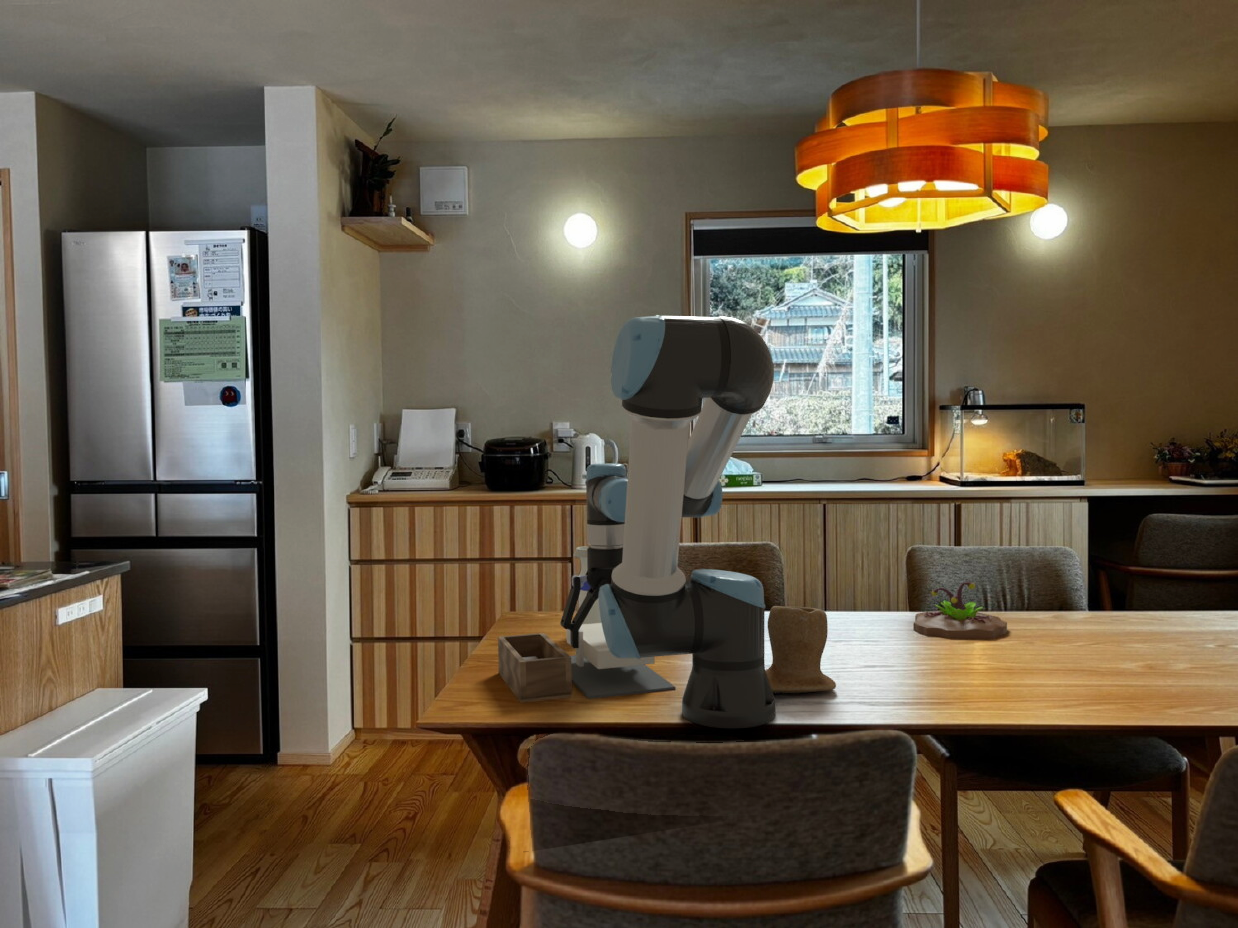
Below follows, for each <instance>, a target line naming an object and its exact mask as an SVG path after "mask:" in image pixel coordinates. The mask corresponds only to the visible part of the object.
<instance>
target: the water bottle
mask: <svg viewBox="0 0 1238 928" xmlns="http://www.w3.org/2000/svg"><path fill="white" fill-rule="evenodd" d="M588 547H589V546H584V545H583V546H578V547H576V548H575V551H574V554H573V556H572V557H574V558H577V559H579V561H580V570H579V573H578V574H577V576H583V575H586V573H587V569H588V568H587V549H588ZM589 589H590V585H589V584H588V583H587V581H586V582H584V585H583V587H581V590H580V594H579V598H578V601H577V604H578V606H577V611H578V610H579V608H580V606H581V604H582V603H583V601H584V599H585V597H586V595H587V592H588V590H589ZM594 623H601V617H600V610H599V597H598V599H597V600H596V601H595V602H594V604H593V606H592V608H591V609H590V611H589V613H588V615H587V617H586V618H585V620H584V622H583V624H594Z"/></svg>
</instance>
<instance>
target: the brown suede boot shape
mask: <svg viewBox="0 0 1238 928" xmlns="http://www.w3.org/2000/svg"><path fill="white" fill-rule="evenodd" d="M767 619H768V620H767V630H768V631H767V632H768V638H769V644H770V649H771V656H772V662H771V665H770V666H769V667H768V668H766V669H765V671H766V674H767V677H768V680H769V683H770V686H771V689H772V692H773V694H799V693H802V694H803V693H815V692H828V691H834V690H835V689H836V688H837V684H836V682H835V681H834V680H833V678H831V677H829V676H828V675H826V674H824V673H823V672H822V669H821V661H822V657H823V653H824V650H825V647H826V643H827V639H828V632H829V631H828V628H829V627H828V615H827V614H826V612H825V611H824V610H823V609H820V608H815V607H807V606H804V607H803V606H790V605H789V606H782V605H781V606H779V605H773V606H772V607H771V608H770V610H769V614H768V617H767Z"/></svg>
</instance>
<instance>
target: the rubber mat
mask: <svg viewBox="0 0 1238 928" xmlns="http://www.w3.org/2000/svg"><path fill="white" fill-rule="evenodd" d="M569 656H570V657H571V677H572V684H573V685H574V686H576V688H577V689H578V690H579V691H581V693H582V694H583V695H584V697H586V698H587V699H588V700H592V699H602V698H609V697H610V698H611V697H612V698H613V697H619V696H628V695H638V694H649V693H655V692H664V691H665V692H666V691H675V690H676V686H675V685H674V684H673V683H671V682H669V681H668V680H667V679H666V678H664V677H663V676H661V675H660V674H659V673H657V672H656V671H654V669H652V668H650V667H649V666H648V665H647V664H646V665H635V666H625V667H615V668H605V669H597V668H596V667H595V666H594V665H593V664H592V663H590V662H589V661H588V660H587V659H586V658H585V657H584V666H583V667H579V666H578V665H577V664H576V654H574V655H572V654H571V655H569Z"/></svg>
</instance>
